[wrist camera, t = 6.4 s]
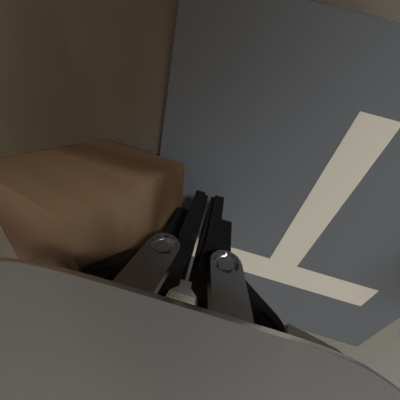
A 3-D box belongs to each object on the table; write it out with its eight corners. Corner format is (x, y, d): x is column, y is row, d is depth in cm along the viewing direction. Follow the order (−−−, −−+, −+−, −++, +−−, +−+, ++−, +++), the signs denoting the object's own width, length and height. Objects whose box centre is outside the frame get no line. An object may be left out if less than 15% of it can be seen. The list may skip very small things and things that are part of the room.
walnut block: (104, 139, 12) (-32, 163, 7) (184, 163, 10) (63, 220, 5) (115, 216, 15) (24, 269, 10) (179, 249, 13) (99, 333, 8)
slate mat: (185, -26, 8) (182, -33, 7) (686, 102, 7) (715, 103, 7) (146, 277, 18) (143, 281, 18) (353, 340, 18) (356, 346, 17)
